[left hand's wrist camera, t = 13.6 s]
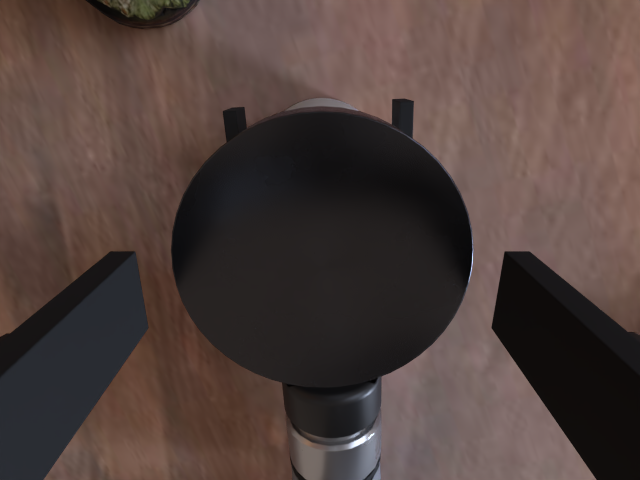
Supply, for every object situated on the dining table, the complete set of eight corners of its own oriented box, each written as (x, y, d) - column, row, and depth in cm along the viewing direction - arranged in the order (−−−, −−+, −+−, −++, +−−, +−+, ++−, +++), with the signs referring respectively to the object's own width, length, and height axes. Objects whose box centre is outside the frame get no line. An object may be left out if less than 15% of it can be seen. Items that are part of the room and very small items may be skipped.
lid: (496, 148, 15) (525, 160, 13) (403, 373, 19) (414, 410, 16) (213, 70, 14) (194, 69, 12) (174, 323, 18) (154, 356, 16)
